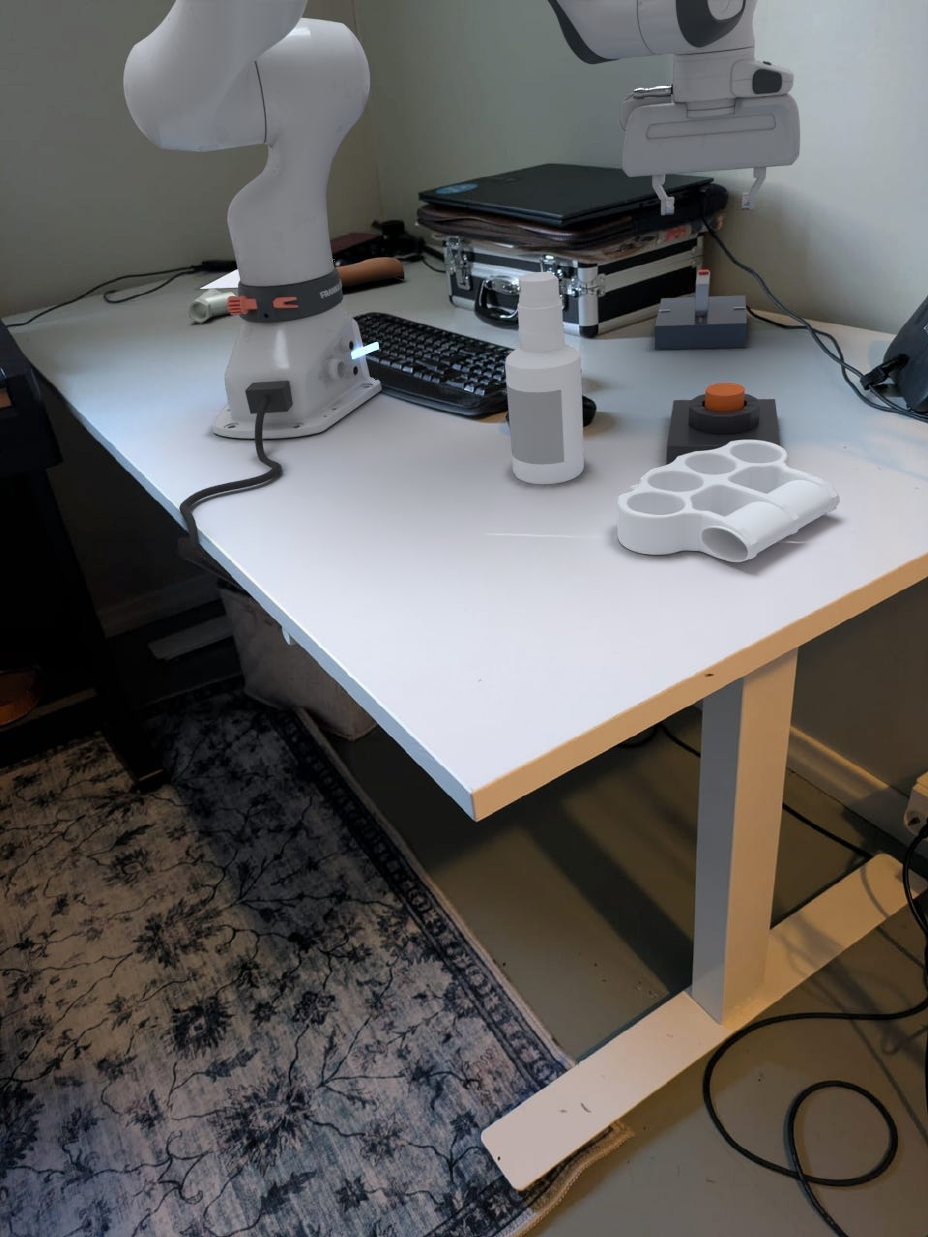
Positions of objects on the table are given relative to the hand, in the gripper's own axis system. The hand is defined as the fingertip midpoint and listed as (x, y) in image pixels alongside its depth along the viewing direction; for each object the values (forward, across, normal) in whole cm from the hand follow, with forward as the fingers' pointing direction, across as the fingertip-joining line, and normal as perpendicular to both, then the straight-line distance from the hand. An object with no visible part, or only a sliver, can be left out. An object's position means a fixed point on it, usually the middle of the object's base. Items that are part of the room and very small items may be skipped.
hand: (706, 211), depth 111 cm
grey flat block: (+15, 0, 0) cm, 15 cm away
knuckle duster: (+15, +3, -52) cm, 55 cm away
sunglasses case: (+15, -61, +33) cm, 71 cm away
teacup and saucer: (+15, -83, +47) cm, 97 cm away
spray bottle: (+15, -13, -43) cm, 48 cm away
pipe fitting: (+15, -79, +17) cm, 83 cm away
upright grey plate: (+12, 0, 0) cm, 12 cm away
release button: (+11, +3, -36) cm, 38 cm away
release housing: (+15, +3, -36) cm, 39 cm away
